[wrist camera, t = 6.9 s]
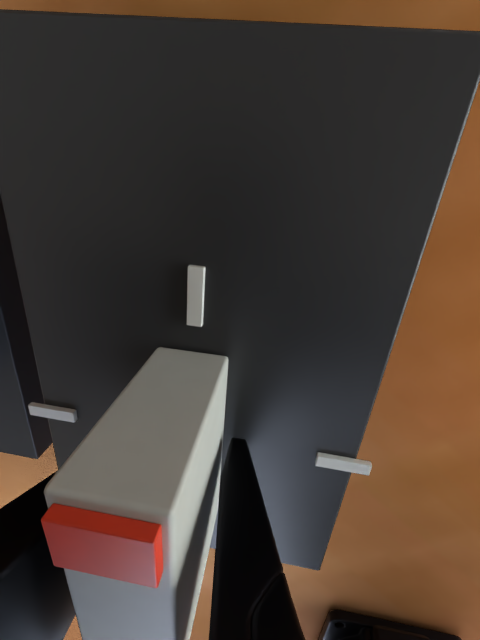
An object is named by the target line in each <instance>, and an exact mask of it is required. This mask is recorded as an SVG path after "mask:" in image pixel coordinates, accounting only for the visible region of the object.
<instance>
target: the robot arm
mask: <svg viewBox="0 0 480 640" xmlns="http://www.w3.org/2000/svg"><path fill="white" fill-rule="evenodd" d="M56 472H57V471H56ZM56 472H55V473H53V474H52V475H50V476H49V477H47V478H46V479H44V480H43V481H41V482H40V483H38V484H37V485H35V486H34V487H32V488H31V489H29V490H28V491H26V492H25V493H23V494H22V495H20V496H19V497H17V498H16V499H14V500H13V501H11V502H10V503H8V504H7V505H5V506H4V507H2V508H1V509H0V640H63V639H64V637H65V635H66V633H67V631H68V629H69V627H70V625H71V622H72V620H73V618H74V616H75V614H76V613H75V609H74V606H73V602H72V598H71V594H70V590H69V586H68V583H67V579H66V575H65V571H64V568H61V567H56V566H54V565H53V561H52V558H51V554H50V551H49V547H48V544H47V540H46V537H45V533H44V530H43V526H42V522H41V519H42V517H43V516H44V514H45V513H46V512H47V510H48V507H47V503H46V499H45V495H44V489H45V487H46V485H47V483H48V482H49V481H50V480H51V479H52V477H53V476H54V475H55V474H56ZM209 640H305V637H304V635H303V632H302V629H301V626H300V623H299V620H298V617H297V614H296V610H295V607H294V604H293V601H292V598H291V594H290V591H289V587H288V584H287V580H286V577H285V574H284V573H283V567H282V564H281V560H280V556H279V553H278V549H277V546H276V542H275V539H274V535H273V532H272V528H271V525H270V521H269V518H268V514H267V511H266V507H265V504H264V500H263V497H262V493H261V490H260V486H259V483H258V479H257V475H256V472H255V468H254V465H253V461H252V458H251V454H250V451H249V447H248V444H247V441H246V440H245V439H242V438H236V437H232V438H231V440H230V443H229V447H228V451H227V455H226V458H225V462H224V466H223V470H222V475H221V482H220V494H219V508H218V522H217V535H216V549H215V563H214V577H213V590H212V604H211V618H210V632H209ZM318 640H461V638H459V637H458V636H455V635H450V634H446V633H441V632H437V631H432V630H428V629H423V628H419V627H414V626H410V625H405V624H401V623H396V622H392V621H387V620H383V619H378V618H374V617H369V616H365V615H360V614H356V613H351V612H347V611H342V610H332V611H330V612H329V613H328V616H327V618H326V621H325V623H324V626H323V629H322V631H321V634H320V636H319V639H318Z"/></svg>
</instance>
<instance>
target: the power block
mask: <svg viewBox="0 0 480 640" xmlns="http://www.w3.org/2000/svg"><path fill="white" fill-rule="evenodd" d="M31 402H35V403H40V404H44V399H43V395H42V390H41V385H40V380H39V376H38V371H37V366H36V361H35V357H34V352H33V347H32V342H31V338H30V333H29V328H28V323H27V319H26V314H25V309H24V304H23V300H22V295H21V290H20V285H19V281H18V276H17V271H16V266H15V262H14V257H13V252H12V247H11V243H10V238H9V233H8V228H7V224H6V219H5V214H4V209H3V205H2V200H1V195H0V452H3V453H9V454H14V455H19V456H24V457H29V458H34V459H38V458H39V457H40V456H41V455H42V454H43V452H44V451H45V450H46V449H47V448H48V447H49V446H50V445H51V444H52V443H53V442H52V437H51V433H50V428H49V423H48V418H46V417H40V416H35V415H30V412H29V407H28V405H29V404H30V403H31Z"/></svg>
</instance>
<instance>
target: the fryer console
mask: <svg viewBox="0 0 480 640" xmlns="http://www.w3.org/2000/svg"><path fill="white" fill-rule="evenodd" d="M479 81H480V31H464V30H442V29H420V28H398V27H376V26H355V25H333V24H311V23H289V22H267V21H245V20H223V19H201V18H180V17H158V16H136V15H114V14H92V13H70V12H48V11H26V10H5V9H0V195H1V200H2V205H3V209H4V214H5V219H6V224H7V228H8V233H9V238H10V243H11V247H12V252H13V257H14V262H15V266H16V271H17V276H18V281H19V285H20V290H21V295H22V300H23V304H24V309H25V314H26V319H27V323H28V328H29V333H30V338H31V342H32V347H33V352H34V357H35V361H36V366H37V371H38V376H39V380H40V385H41V390H42V395H43V399H44V404H40V403H35V402H31V403H30V404H29V405H28V407H29V412H30V415H35V416H40V417H46V418H48V423H49V428H50V433H51V437H52V442H53V447H54V452H55V456H56V461H57V466H58V470H59V469H60V467H61V466H62V465H63V464H64V463H65V461H66V460H67V459H68V458H69V456H70V455H71V454H72V453H73V451H74V450H75V449H76V448H77V446H78V445H79V444H80V443H81V442H82V440H83V439H84V438H85V437H86V435H87V434H88V433H89V432H90V430H91V429H92V428H93V427H94V425H95V424H96V423H97V422H98V421H99V419H100V418H101V417H102V416H103V414H104V413H105V412H106V411H107V409H108V408H109V407H110V406H111V404H112V403H113V402H114V401H115V400H116V398H117V397H118V396H119V395H120V393H121V392H122V391H123V390H124V388H125V387H126V386H127V385H128V384H129V382H130V381H131V380H132V379H133V377H134V376H135V375H136V374H137V372H138V371H139V370H140V369H141V367H142V366H143V365H144V364H145V363H146V361H147V360H148V359H149V358H150V356H151V355H152V354H153V353H154V351H155V350H156V349H157V348H159V347H163V348H170V349H177V350H185V351H192V352H199V353H206V354H213V355H220V356H226V357H228V360H229V361H228V375H227V389H226V404H225V418H224V432H223V447H222V461H221V475H222V470H223V466H224V462H225V458H226V455H227V451H228V447H229V443H230V440H231V438H232V437H236V438H242V439H245V440H246V441H247V444H248V447H249V451H250V454H251V458H252V461H253V465H254V468H255V472H256V475H257V479H258V483H259V486H260V490H261V493H262V497H263V500H264V504H265V507H266V511H267V514H268V518H269V521H270V525H271V528H272V532H273V535H274V539H275V542H276V546H277V549H278V553H279V556H280V560H281V563H285V564H290V565H295V566H299V567H304V568H309V569H314V570H320V567H321V564H322V561H323V558H324V555H325V552H326V549H327V545H328V542H329V539H330V536H331V533H332V530H333V527H334V524H335V521H336V518H337V515H338V512H339V509H340V506H341V503H342V500H343V497H344V494H345V490H346V487H347V484H348V481H349V478H350V475H351V472H352V473H358V474H363V475H369V473H370V471H371V468H372V464H371V461H366V460H360V459H356V457H357V454H358V451H359V448H360V445H361V442H362V439H363V435H364V432H365V429H366V426H367V423H368V420H369V417H370V414H371V411H372V408H373V405H374V402H375V399H376V396H377V393H378V390H379V387H380V383H381V380H382V377H383V374H384V371H385V368H386V365H387V362H388V359H389V356H390V353H391V350H392V347H393V344H394V341H395V338H396V335H397V332H398V328H399V325H400V322H401V319H402V316H403V313H404V310H405V307H406V304H407V301H408V298H409V295H410V292H411V289H412V286H413V283H414V280H415V277H416V273H417V270H418V267H419V264H420V261H421V258H422V255H423V252H424V249H425V246H426V243H427V240H428V237H429V234H430V231H431V228H432V225H433V221H434V218H435V215H436V212H437V209H438V206H439V203H440V200H441V197H442V194H443V191H444V188H445V185H446V182H447V179H448V176H449V173H450V170H451V166H452V163H453V160H454V157H455V154H456V151H457V148H458V145H459V142H460V139H461V136H462V133H463V130H464V127H465V124H466V121H467V118H468V115H469V111H470V108H471V105H472V102H473V99H474V96H475V93H476V90H477V87H478V84H479ZM221 475H220V482H221ZM219 494H220V489H219ZM218 508H219V504H218ZM217 522H218V511H217V516H216V521H215V525H214V530H213V534H212V539H211V544H210V548H214V549H216V535H217Z"/></svg>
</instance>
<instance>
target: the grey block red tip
mask: <svg viewBox="0 0 480 640" xmlns="http://www.w3.org/2000/svg"><path fill="white" fill-rule="evenodd" d="M228 361H229V360H228V357H226V356H220V355H213V354H206V353H199V352H192V351H185V350H177V349H170V348H163V347H159V348H157V349H156V350H155V351H154V353H153V354H152V355H151V356H150V358H149V359H148V360H147V361H146V363H145V364H144V365H143V366H142V367H141V369H140V370H139V371H138V372H137V374H136V375H135V376H134V377H133V379H132V380H131V381H130V382H129V384H128V385H127V386H126V387H125V388H124V390H123V391H122V392H121V393H120V395H119V396H118V397H117V398H116V400H115V401H114V402H113V403H112V404H111V406H110V407H109V408H108V409H107V411H106V412H105V413H104V414H103V416H102V417H101V418H100V419H99V421H98V422H97V423H96V424H95V425H94V427H93V428H92V429H91V430H90V432H89V433H88V434H87V435H86V437H85V438H84V439H83V440H82V442H81V443H80V444H79V445H78V446H77V448H76V449H75V450H74V451H73V453H72V454H71V455H70V456H69V458H68V459H67V460H66V461H65V463H64V464H63V465H62V466H61V467H60V469H59V470H58V471H57V472H56V474H55V475H54V476H53V477H52V479H51V480H50V481H49V482H48V483H47V485H46V487H45V489H44V495H45V499H46V503H47V507H48V510H47V512H46V513H45V514H44V516H43V517H42V519H41V522H42V526H43V530H44V533H45V537H46V540H47V544H48V547H49V551H50V554H51V558H52V561H53V565H54V566H56V567H61V568H64V571H65V575H66V579H67V583H68V586H69V590H70V594H71V598H72V602H73V606H74V609H75V613H76V617H77V621H78V625H79V628H80V632H81V636H82V640H190V635H191V631H192V626H193V622H194V617H195V612H196V608H197V603H198V599H199V594H200V589H201V585H202V580H203V576H204V571H205V566H206V562H207V557H208V553H209V548H210V544H211V539H212V534H213V530H214V525H215V521H216V516H217V511H218V504H219V489H220V475H221V461H222V447H223V432H224V418H225V404H226V389H227V375H228Z"/></svg>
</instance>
